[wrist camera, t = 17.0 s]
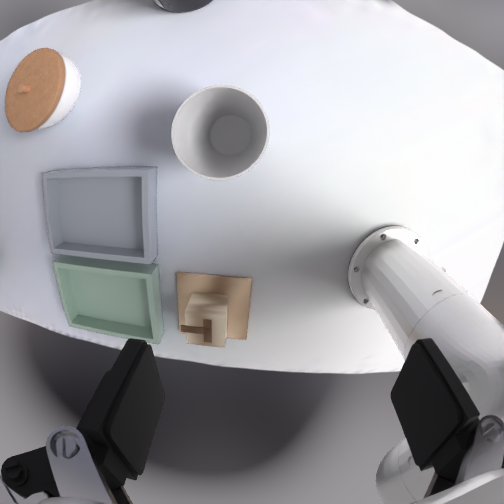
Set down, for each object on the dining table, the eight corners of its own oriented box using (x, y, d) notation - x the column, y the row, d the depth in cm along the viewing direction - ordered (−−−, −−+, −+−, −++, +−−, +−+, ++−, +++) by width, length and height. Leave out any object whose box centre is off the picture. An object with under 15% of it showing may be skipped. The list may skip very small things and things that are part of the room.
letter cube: (229, 295, 38) (225, 317, 33) (228, 324, 40) (224, 348, 35) (188, 291, 38) (179, 312, 33) (189, 320, 40) (182, 343, 35)
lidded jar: (99, 112, 29) (55, 109, 20) (43, 140, 30) (-1, 146, 21) (91, 45, 25) (51, 29, 17) (37, 77, 26) (-5, 73, 17)
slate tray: (156, 166, 32) (148, 169, 29) (157, 255, 36) (150, 264, 34) (55, 170, 32) (42, 173, 29) (61, 245, 36) (51, 253, 33)
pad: (252, 278, 38) (251, 280, 37) (246, 337, 41) (246, 339, 41) (177, 271, 37) (176, 273, 37) (180, 330, 41) (179, 332, 41)
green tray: (158, 264, 37) (151, 274, 34) (164, 332, 41) (159, 344, 39) (63, 254, 37) (52, 261, 34) (76, 316, 41) (68, 325, 38)
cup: (212, 179, 33) (195, 195, 23) (184, 119, 30) (156, 112, 21) (276, 152, 31) (285, 157, 22) (248, 90, 29) (245, 70, 19)
